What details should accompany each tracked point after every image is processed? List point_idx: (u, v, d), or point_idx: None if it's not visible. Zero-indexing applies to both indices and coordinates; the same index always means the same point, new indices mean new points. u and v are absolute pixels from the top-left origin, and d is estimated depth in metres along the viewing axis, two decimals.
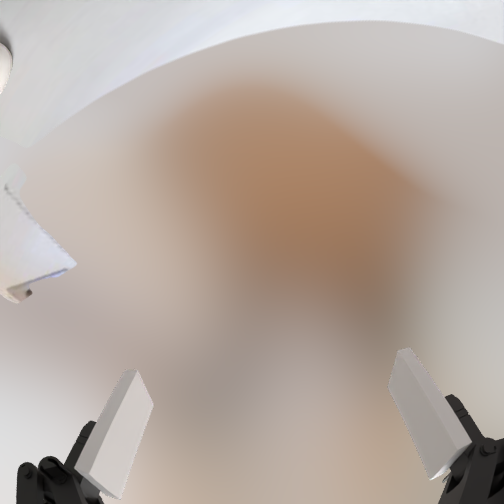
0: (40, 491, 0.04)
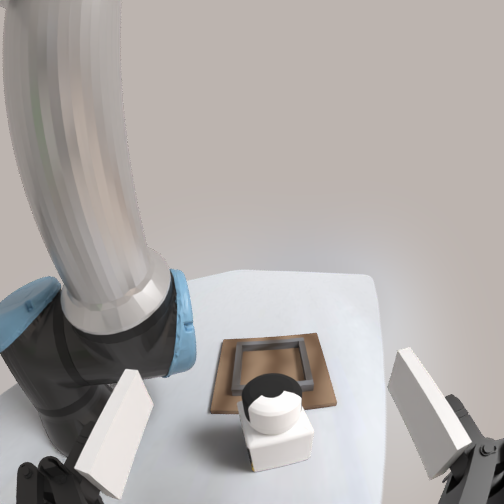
0: (40, 491, 0.04)
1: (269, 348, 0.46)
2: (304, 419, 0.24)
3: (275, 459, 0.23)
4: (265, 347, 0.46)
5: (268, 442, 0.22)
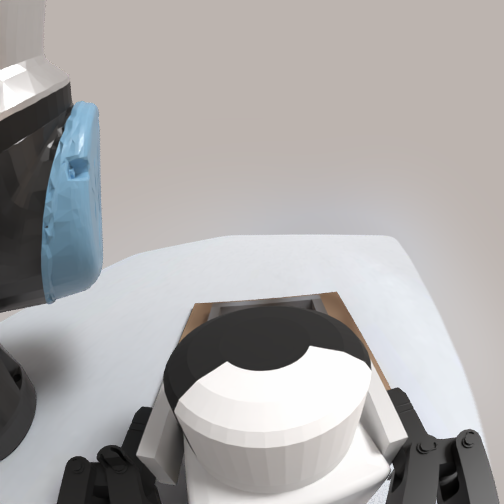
0: (89, 488, 0.05)
1: None
2: (361, 441, 0.07)
3: None
4: None
5: None
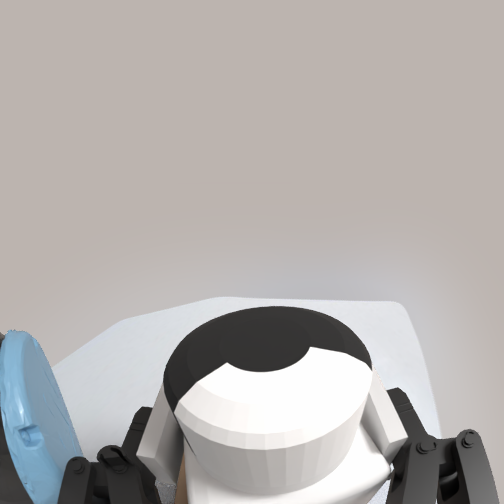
0: (89, 488, 0.05)
1: None
2: (362, 442, 0.07)
3: None
4: None
5: None
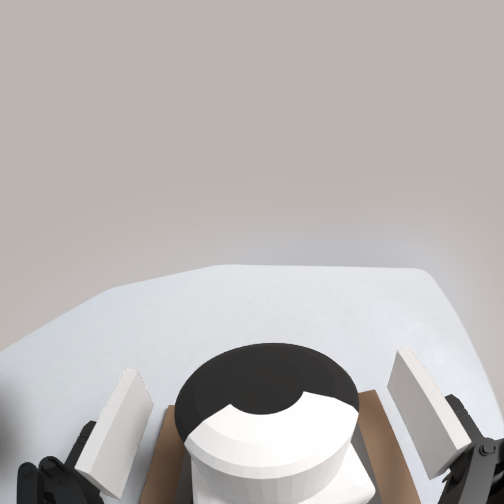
0: (40, 491, 0.04)
1: None
2: (351, 464, 0.08)
3: None
4: None
5: None
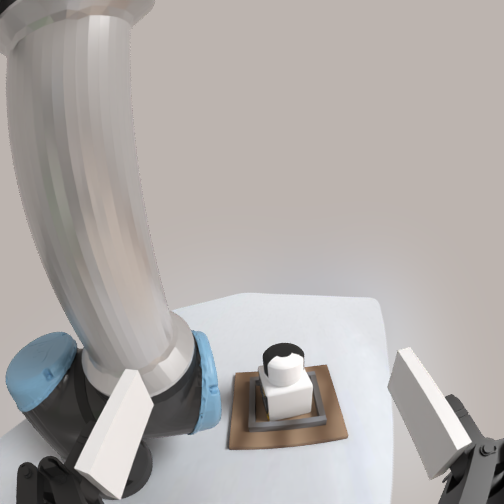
0: (40, 491, 0.04)
1: None
2: (306, 377, 0.37)
3: (285, 409, 0.36)
4: None
5: (280, 392, 0.35)
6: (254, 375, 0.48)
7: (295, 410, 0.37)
